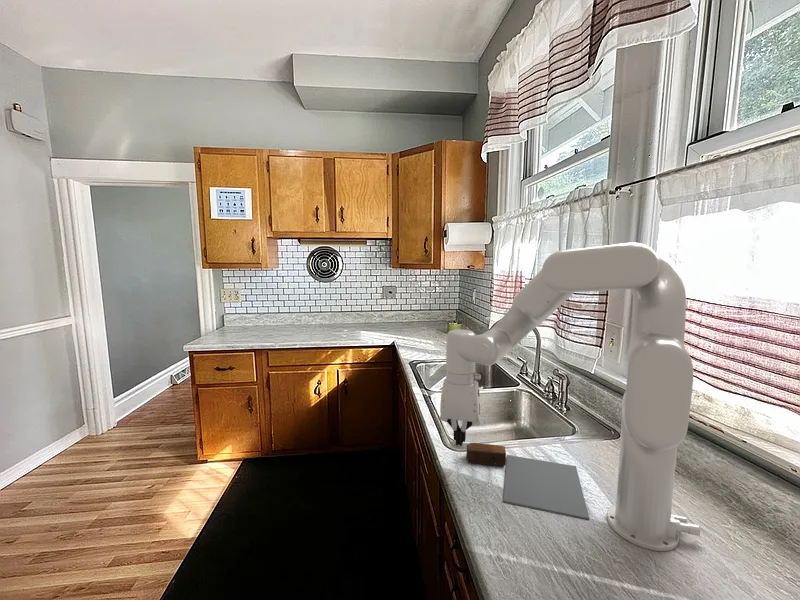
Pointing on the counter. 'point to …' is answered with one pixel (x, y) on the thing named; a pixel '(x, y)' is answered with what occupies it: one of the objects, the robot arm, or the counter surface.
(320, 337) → the counter surface
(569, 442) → the counter surface
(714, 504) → the counter surface
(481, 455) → the brick
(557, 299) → the robot arm
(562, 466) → the mat
